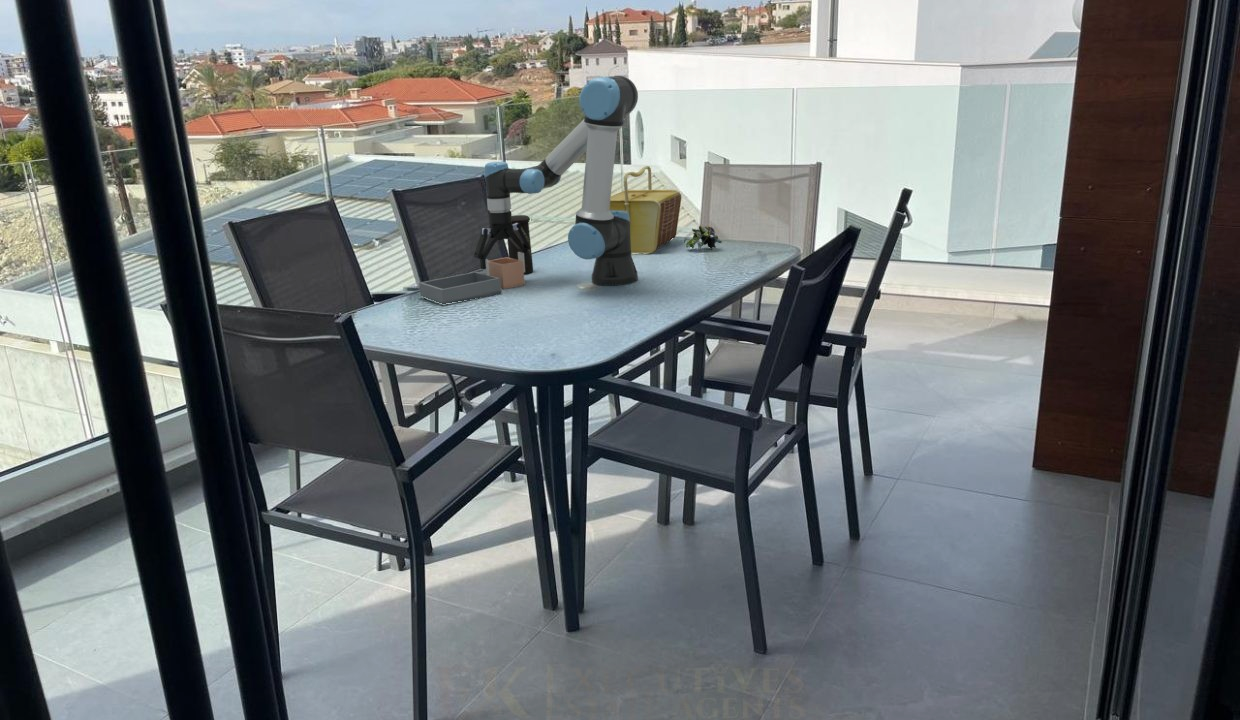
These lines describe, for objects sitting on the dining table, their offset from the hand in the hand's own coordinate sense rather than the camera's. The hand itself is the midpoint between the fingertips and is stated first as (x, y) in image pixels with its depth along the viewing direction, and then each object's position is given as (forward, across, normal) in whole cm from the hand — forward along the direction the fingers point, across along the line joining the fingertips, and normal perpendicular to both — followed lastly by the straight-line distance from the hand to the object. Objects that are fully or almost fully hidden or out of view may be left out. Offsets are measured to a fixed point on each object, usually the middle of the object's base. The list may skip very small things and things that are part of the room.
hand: (504, 275), depth 302 cm
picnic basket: (+3, -69, -14) cm, 71 cm away
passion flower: (+3, -79, +10) cm, 80 cm away
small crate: (+3, 0, 0) cm, 3 cm away
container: (+4, -14, -13) cm, 19 cm away
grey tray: (+3, +18, +2) cm, 18 cm away
